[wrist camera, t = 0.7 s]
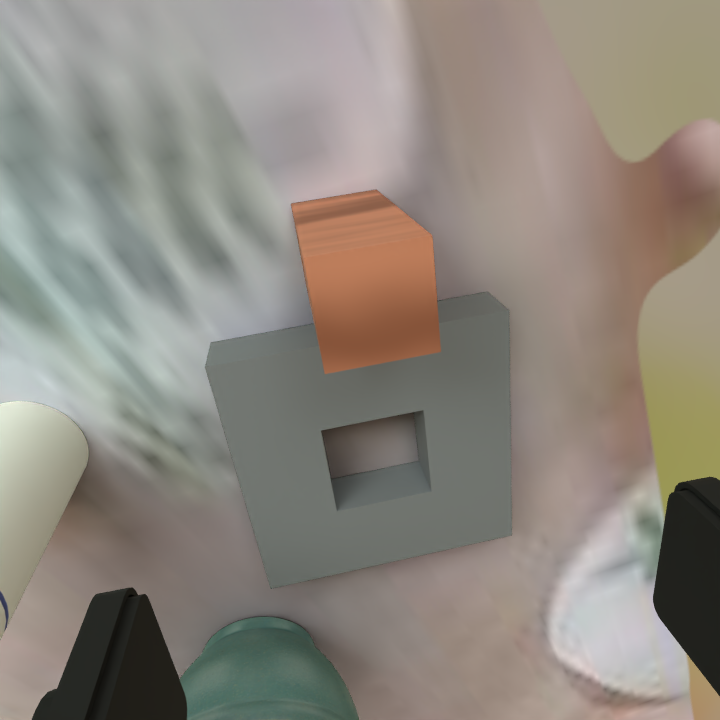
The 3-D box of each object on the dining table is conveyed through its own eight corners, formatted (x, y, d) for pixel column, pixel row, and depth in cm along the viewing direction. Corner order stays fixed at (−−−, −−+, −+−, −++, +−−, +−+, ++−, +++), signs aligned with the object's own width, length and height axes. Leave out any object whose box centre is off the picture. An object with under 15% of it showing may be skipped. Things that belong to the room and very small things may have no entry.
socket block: (210, 342, 34) (205, 367, 31) (487, 291, 35) (509, 310, 32) (270, 552, 42) (270, 588, 39) (494, 504, 43) (511, 535, 40)
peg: (291, 203, 31) (303, 258, 20) (376, 189, 31) (432, 235, 21) (306, 286, 33) (324, 374, 23) (385, 272, 34) (440, 351, 23)
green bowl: (138, 704, 47) (105, 860, 37) (188, 568, 41) (164, 710, 32) (314, 720, 52) (325, 863, 42) (379, 600, 46) (409, 732, 36)
